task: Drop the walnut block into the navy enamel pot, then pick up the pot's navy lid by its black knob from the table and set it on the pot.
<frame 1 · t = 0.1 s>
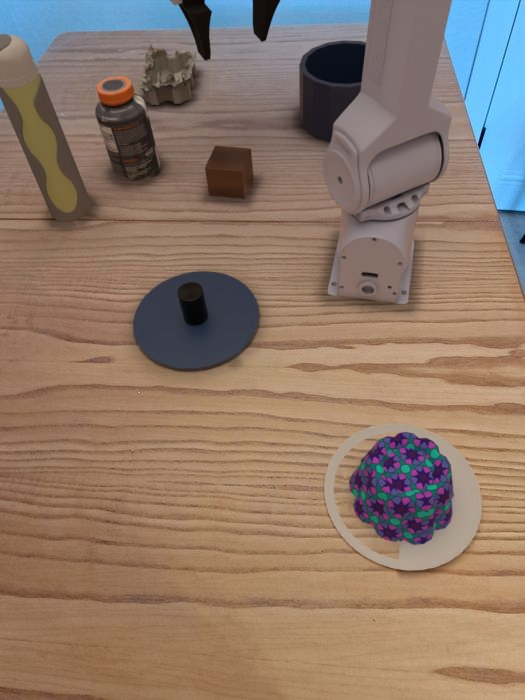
hand: (232, 46, 69), 10 cm above the table, tool pointing down, fingers open, 7 cm apart
pot: (342, 118, 77), on the table
lid: (196, 319, 56), point 1 cm above the table
block: (232, 189, 69), on the table
pill bottle: (138, 171, 73), on the table
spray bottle: (73, 213, 69), on the table
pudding: (400, 495, 45), on the table
pacifier: (374, 78, 83), on the table
egg carton: (172, 88, 85), on the table
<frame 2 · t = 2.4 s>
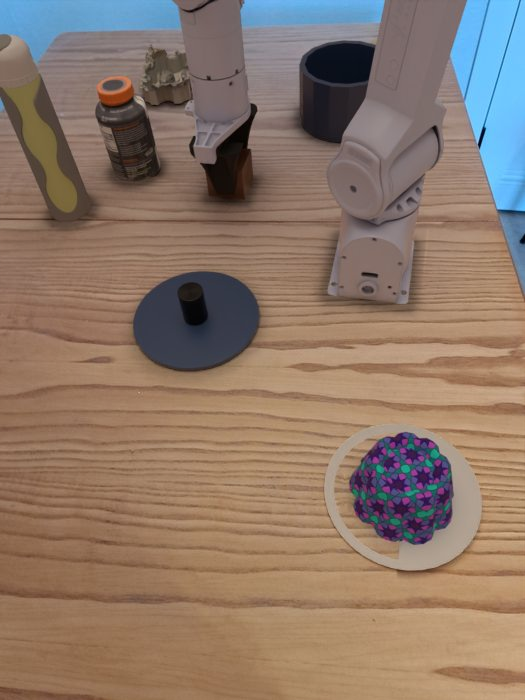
hand: (230, 179, 68), 1 cm above the table, tool pointing down, fingers closed on block, 4 cm apart
block: (232, 189, 69), on the table, touching gripper
everything else where it was.
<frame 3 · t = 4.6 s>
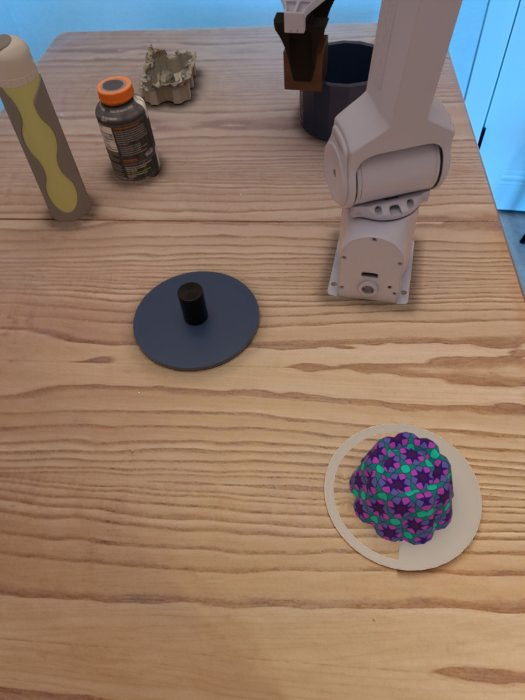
hand: (306, 68, 67), 9 cm above the table, tool pointing down, fingers closed on block, 4 cm apart
block: (306, 80, 68), point 8 cm above the table, touching gripper
everything else where it was.
when the fingers open (5 cm above the table, at t = 6.9 s): block drops 3 cm, resting on pot.
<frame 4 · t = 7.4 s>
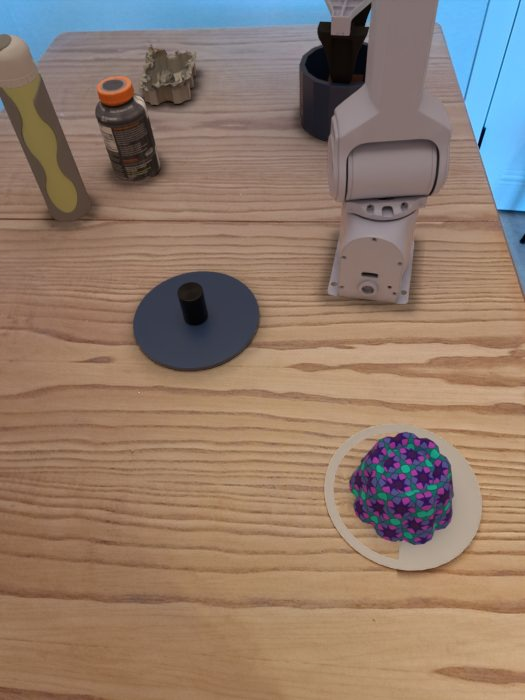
hand: (345, 68, 72), 7 cm above the table, tool pointing down, fingers open, 7 cm apart
block: (342, 114, 77), resting on pot
everything else where it was.
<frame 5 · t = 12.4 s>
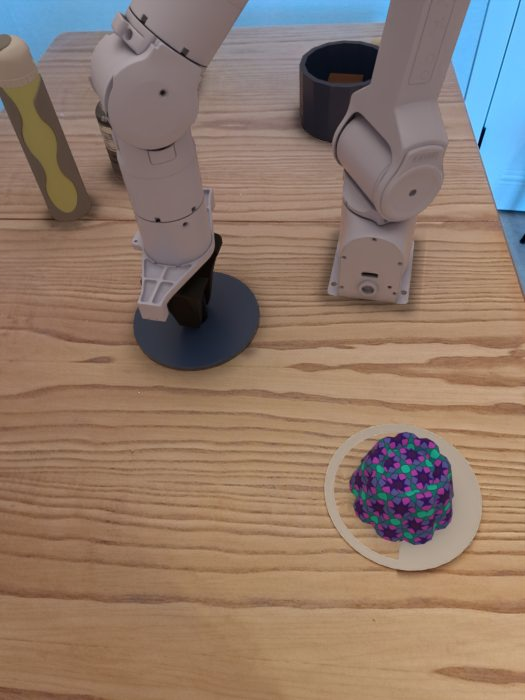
hand: (194, 312, 56), 2 cm above the table, tool pointing down, fingers closed on lid, 2 cm apart
lid: (196, 319, 57), point 1 cm above the table, touching gripper
everything else where it was.
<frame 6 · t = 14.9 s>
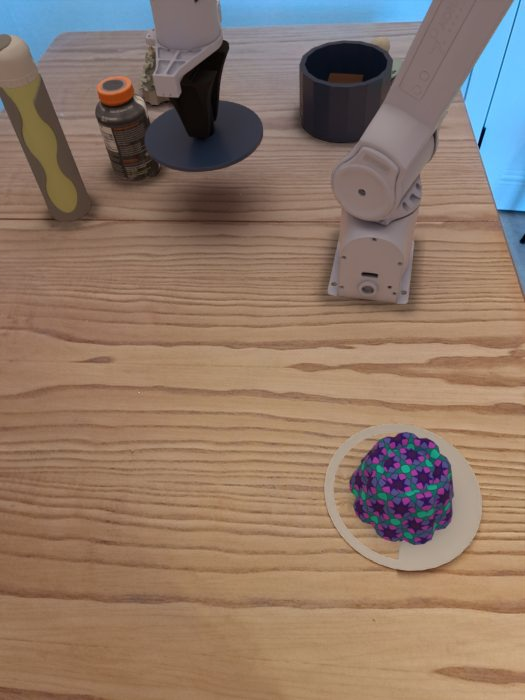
hand: (203, 127, 59), 10 cm above the table, tool pointing down, fingers closed on lid, 2 cm apart
lid: (204, 136, 60), point 9 cm above the table, touching gripper
everything else where it was.
when the fingers open (8 cm above the table, at t = 17.8 s): lid stays where it is, resting on pot.
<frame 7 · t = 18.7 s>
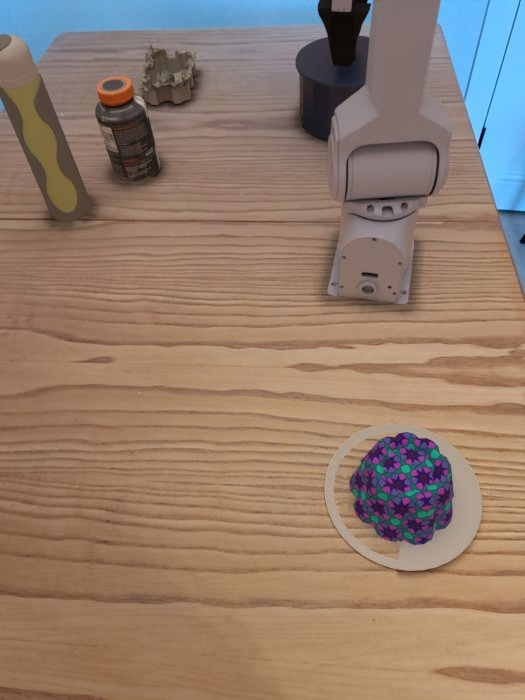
hand: (346, 49, 70), 9 cm above the table, tool pointing down, fingers open, 7 cm apart
lid: (345, 62, 71), point 7 cm above the table, touching pot
everything else where it was.
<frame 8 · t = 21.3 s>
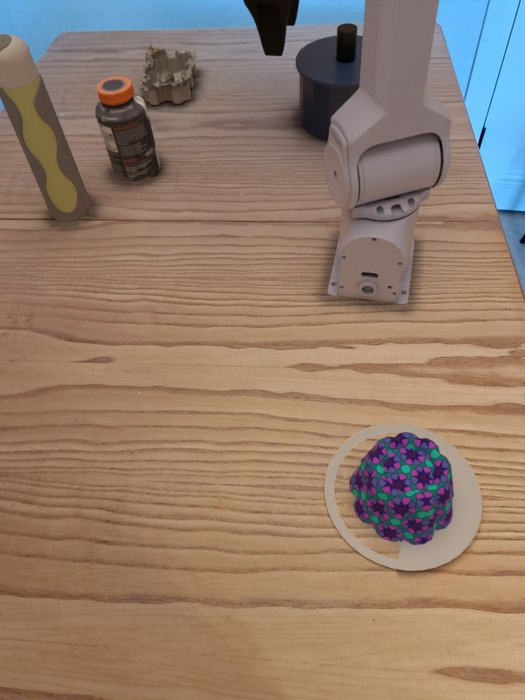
hand: (280, 39, 70), 10 cm above the table, tool pointing down, fingers open, 7 cm apart
nothing on the table moved.
at the end: block inside the target area in the pot (0.1 cm from its centre), point 0.5 cm above the pot's base; lid 0.1 cm off-centre on the pot, point 7.5 cm above the pot's base; lid tilted 0° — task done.
